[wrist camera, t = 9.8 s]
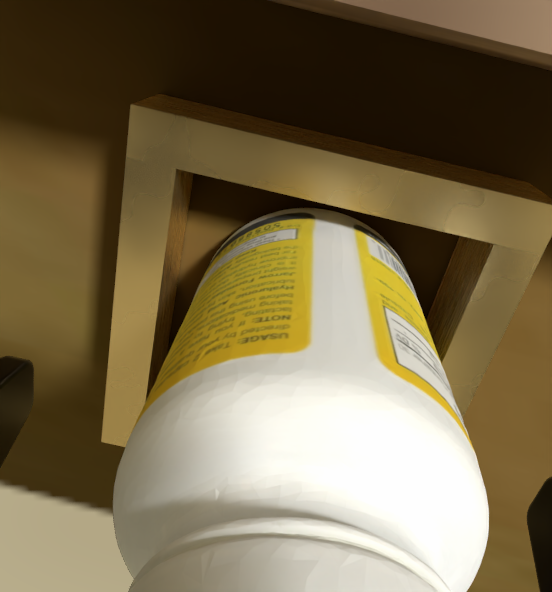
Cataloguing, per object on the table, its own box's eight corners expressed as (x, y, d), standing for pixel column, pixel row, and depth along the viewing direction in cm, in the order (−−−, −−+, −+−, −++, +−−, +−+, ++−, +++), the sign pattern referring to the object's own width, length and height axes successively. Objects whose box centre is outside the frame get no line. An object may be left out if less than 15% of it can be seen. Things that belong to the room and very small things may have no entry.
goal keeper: (527, 182, 12) (565, 208, 10) (406, 456, 16) (417, 510, 14) (159, 93, 12) (130, 104, 10) (126, 395, 15) (101, 441, 14)
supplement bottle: (185, 359, 15) (-10, 832, 6) (229, 175, 12) (6, 517, 4) (369, 409, 15) (437, 930, 6) (446, 239, 13) (733, 699, 4)
